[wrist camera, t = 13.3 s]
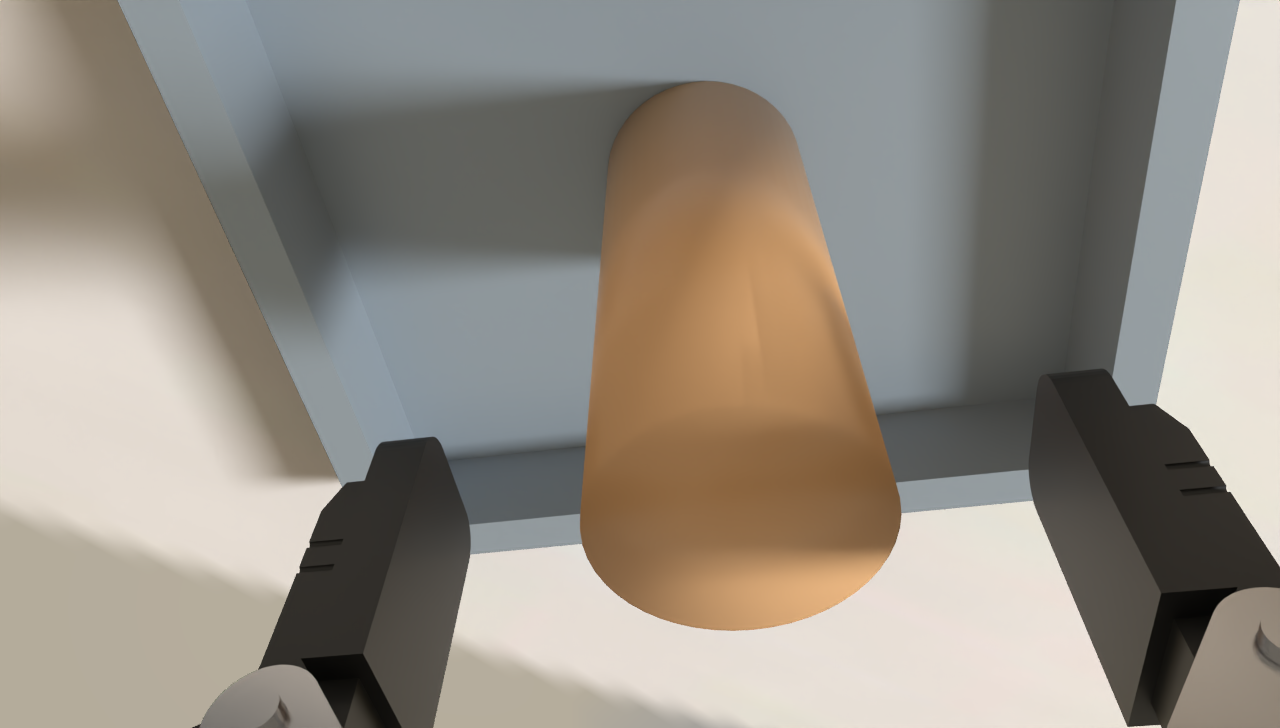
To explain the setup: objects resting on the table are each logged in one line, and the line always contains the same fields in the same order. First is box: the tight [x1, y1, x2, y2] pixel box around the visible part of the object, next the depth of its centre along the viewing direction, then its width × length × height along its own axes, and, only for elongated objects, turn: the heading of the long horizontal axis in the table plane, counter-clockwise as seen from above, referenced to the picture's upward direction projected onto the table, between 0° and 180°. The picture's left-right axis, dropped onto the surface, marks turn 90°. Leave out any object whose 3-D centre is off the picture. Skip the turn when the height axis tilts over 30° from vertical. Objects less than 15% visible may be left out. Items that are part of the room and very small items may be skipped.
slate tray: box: [118, 0, 1240, 554], centre depth 19 cm, size 18×16×3 cm
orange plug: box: [580, 81, 901, 631], centre depth 16 cm, size 4×4×10 cm
